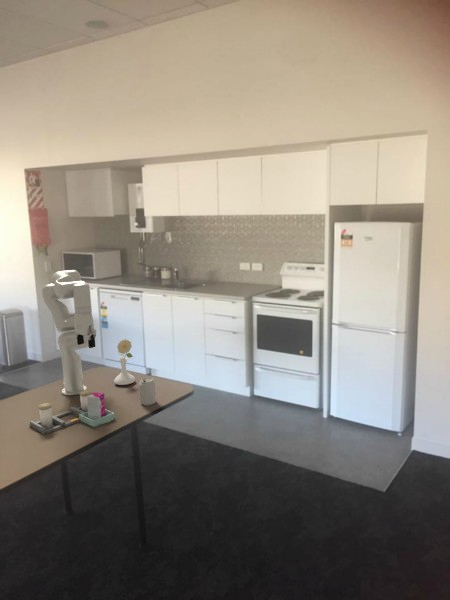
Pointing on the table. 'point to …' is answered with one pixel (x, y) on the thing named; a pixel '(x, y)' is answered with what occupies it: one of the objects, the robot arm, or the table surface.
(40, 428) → the clip holder
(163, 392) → the table surface
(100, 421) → the tray
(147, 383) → the can
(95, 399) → the supplement box
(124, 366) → the flower in vase
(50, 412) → the fuse
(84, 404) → the cylinder
